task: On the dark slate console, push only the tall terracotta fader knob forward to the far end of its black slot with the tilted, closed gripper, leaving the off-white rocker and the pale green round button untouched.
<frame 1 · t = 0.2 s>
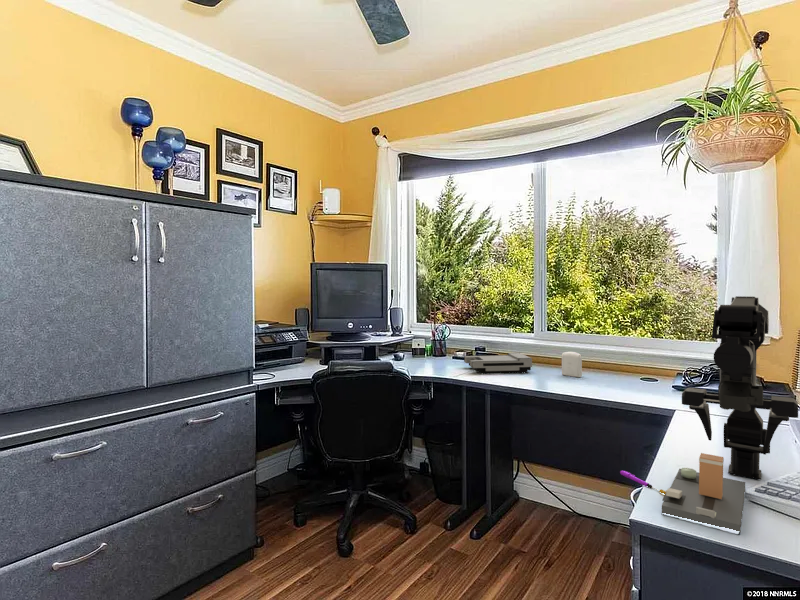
hand: (737, 444, 95), 15 cm above the table, tool pointing down, fingers open, 9 cm apart
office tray: (496, 371, 258), on the table
fader knob: (711, 475, 100), point 6 cm above the table, slide at 0.0 cm
purple screwdriver: (650, 488, 110), on the table, touching console
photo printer: (571, 376, 241), on the table
rocker: (674, 493, 99), point 3 cm above the table, hinge at -12.0°
push button: (688, 473, 109), point 3 cm above the table, slide at 0.0 cm
console: (705, 502, 101), on the table
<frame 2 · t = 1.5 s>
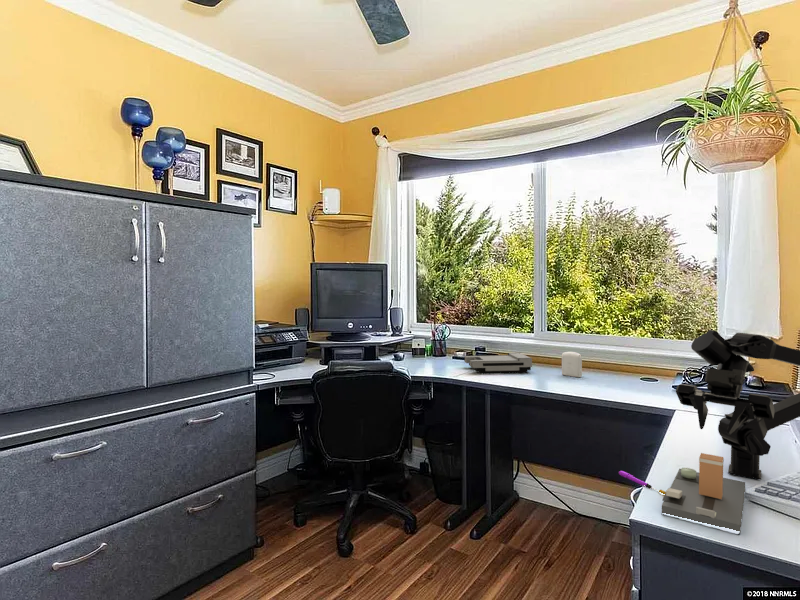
hand: (714, 430, 107), 14 cm above the table, tool tilted 45°, fingers open, 5 cm apart
nothing on the table moved.
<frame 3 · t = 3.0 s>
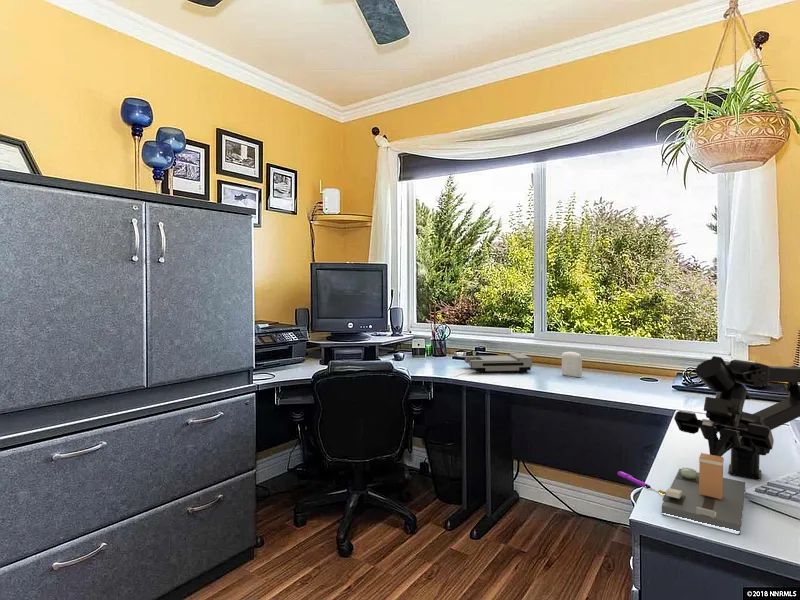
hand: (712, 460, 107), 7 cm above the table, tool tilted 45°, fingers closed
purple screwdriver: (648, 489, 110), on the table
everything else where it was.
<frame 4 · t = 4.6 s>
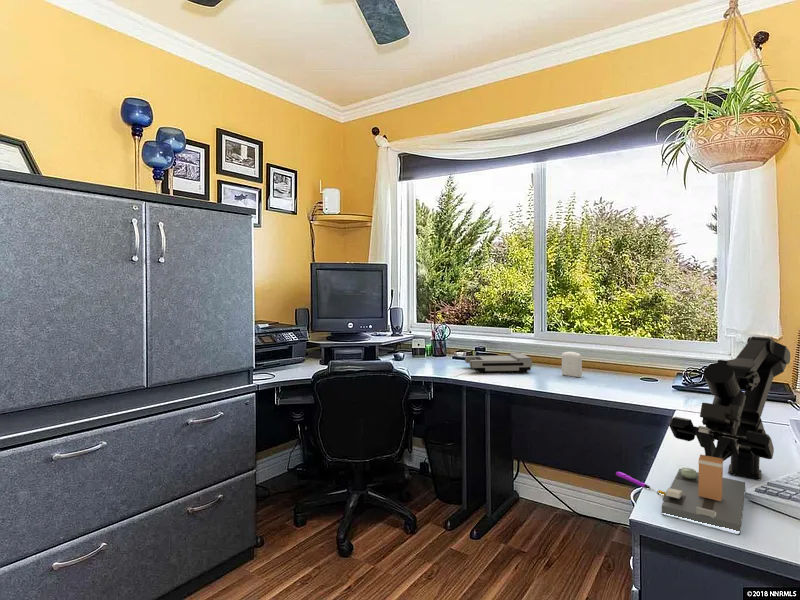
hand: (709, 470, 101), 7 cm above the table, tool tilted 45°, fingers closed
fader knob: (710, 477, 99), point 6 cm above the table, slide at 1.2 cm, touching gripper
everything else where it was.
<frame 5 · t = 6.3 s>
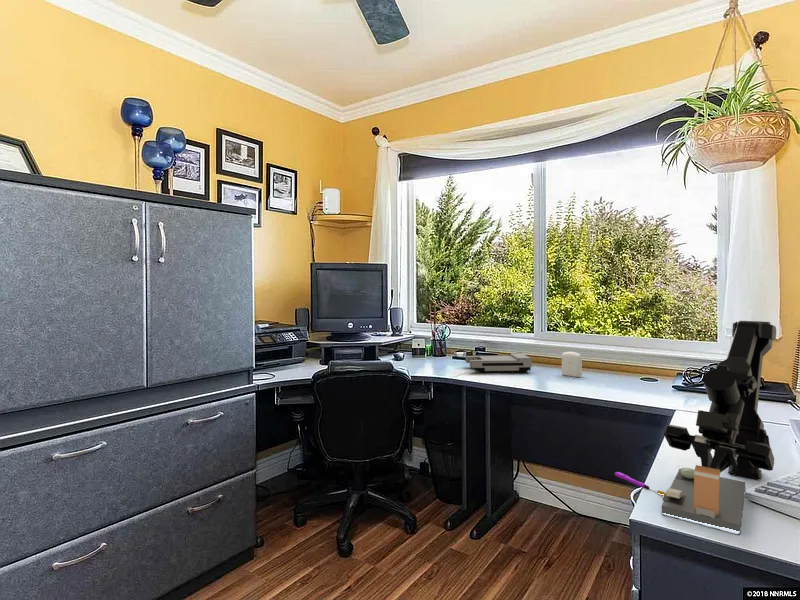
hand: (706, 482, 95), 7 cm above the table, tool tilted 45°, fingers closed
fader knob: (706, 489, 93), point 6 cm above the table, slide at 8.6 cm, touching gripper
everything else where it was.
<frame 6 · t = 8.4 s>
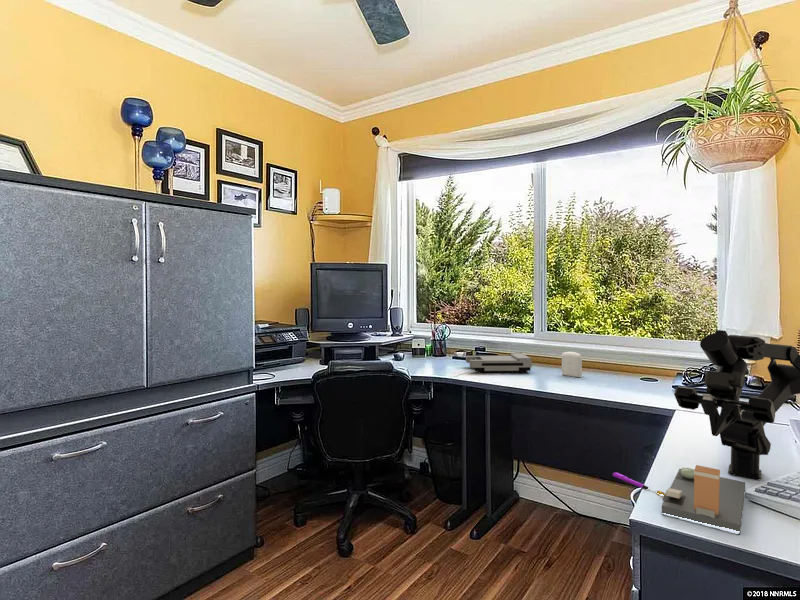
hand: (714, 434, 105), 13 cm above the table, tool tilted 45°, fingers closed
fader knob: (706, 489, 93), point 6 cm above the table, slide at 8.5 cm
purple screwdriver: (645, 489, 109), on the table, touching console
everything else where it was.
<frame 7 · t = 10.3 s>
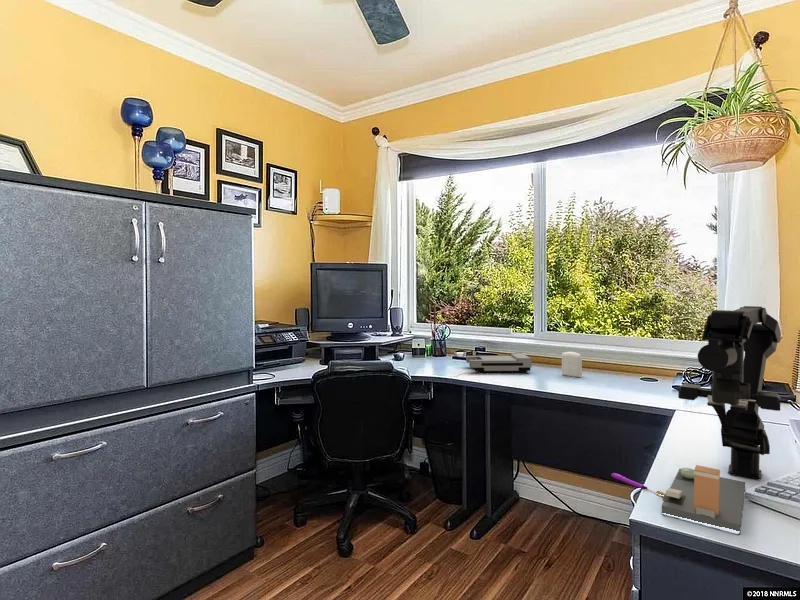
hand: (726, 433, 107), 13 cm above the table, tool pointing down, fingers closed
purple screwdriver: (644, 490, 109), on the table
everything else where it was.
at the end: fader knob slide at 8.5 cm; rocker at -12° (first picture: -12°); push button slide at 0.0 cm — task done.
